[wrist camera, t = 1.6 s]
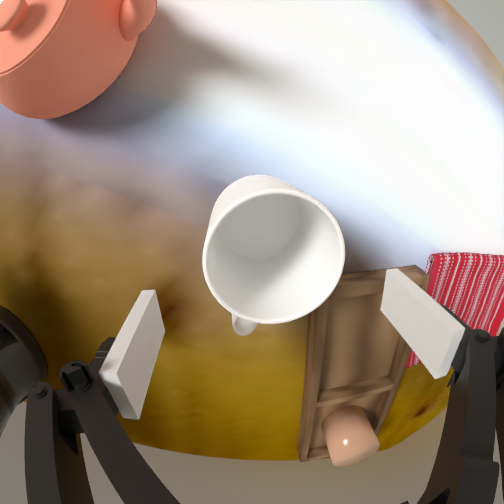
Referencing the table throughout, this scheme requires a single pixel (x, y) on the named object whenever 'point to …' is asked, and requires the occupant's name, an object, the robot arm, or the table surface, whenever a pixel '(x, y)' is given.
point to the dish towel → (467, 289)
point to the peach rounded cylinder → (349, 436)
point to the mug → (271, 252)
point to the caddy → (351, 356)
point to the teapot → (65, 51)
